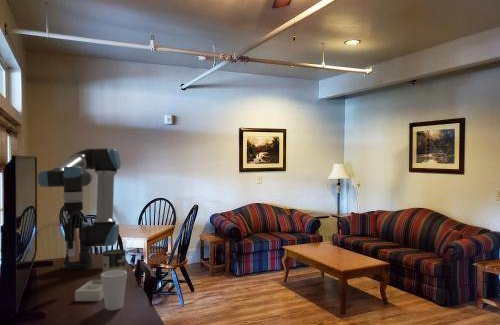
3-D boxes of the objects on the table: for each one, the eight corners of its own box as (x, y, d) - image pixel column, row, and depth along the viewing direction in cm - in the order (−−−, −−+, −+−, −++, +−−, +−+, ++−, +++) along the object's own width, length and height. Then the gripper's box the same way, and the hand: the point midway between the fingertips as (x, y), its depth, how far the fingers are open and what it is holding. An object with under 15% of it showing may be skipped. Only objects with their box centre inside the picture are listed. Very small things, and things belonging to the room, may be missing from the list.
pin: (71, 259, 169) (71, 228, 169) (80, 259, 169) (80, 227, 169) (67, 261, 165) (67, 229, 165) (76, 261, 165) (76, 229, 165)
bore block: (91, 288, 170) (91, 279, 170) (114, 288, 170) (114, 279, 170) (75, 301, 154) (74, 291, 154) (99, 300, 154) (99, 290, 154)
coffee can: (130, 278, 184) (129, 249, 184) (118, 285, 173) (118, 254, 174) (110, 277, 186) (110, 248, 186) (98, 284, 176) (98, 253, 176)
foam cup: (101, 313, 140) (101, 278, 140) (100, 305, 149) (100, 271, 149) (128, 309, 144) (128, 274, 144) (126, 301, 153) (125, 268, 153)
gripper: (74, 199, 175) (74, 250, 176) (54, 203, 158) (55, 259, 159) (90, 199, 175) (90, 249, 176) (72, 203, 158) (73, 259, 159)
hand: (74, 254), depth 167 cm, fingers closed on pin, 4 cm apart
